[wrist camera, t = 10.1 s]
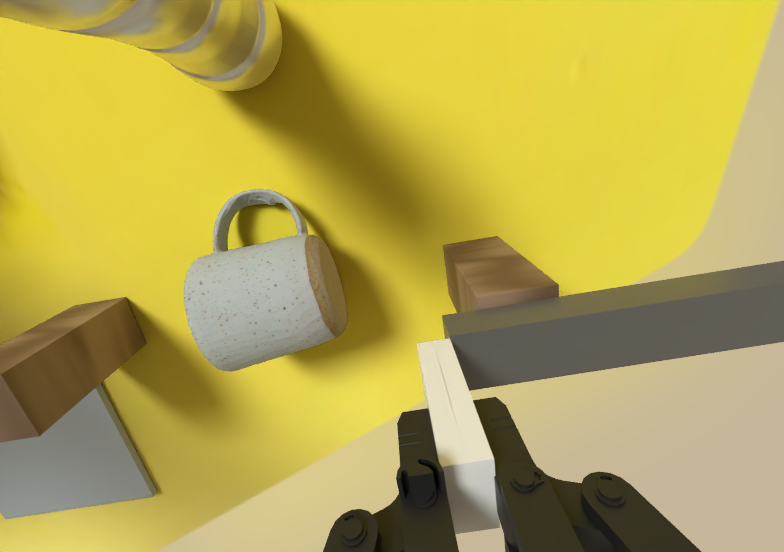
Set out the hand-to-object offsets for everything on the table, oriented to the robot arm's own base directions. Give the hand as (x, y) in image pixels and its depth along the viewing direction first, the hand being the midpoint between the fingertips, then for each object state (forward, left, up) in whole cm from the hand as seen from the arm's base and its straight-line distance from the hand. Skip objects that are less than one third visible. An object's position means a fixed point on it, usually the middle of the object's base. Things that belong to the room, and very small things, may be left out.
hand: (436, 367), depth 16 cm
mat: (-33, -10, -12) cm, 37 cm away
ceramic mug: (-10, +3, -12) cm, 16 cm away
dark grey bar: (+12, 0, -2) cm, 12 cm away
